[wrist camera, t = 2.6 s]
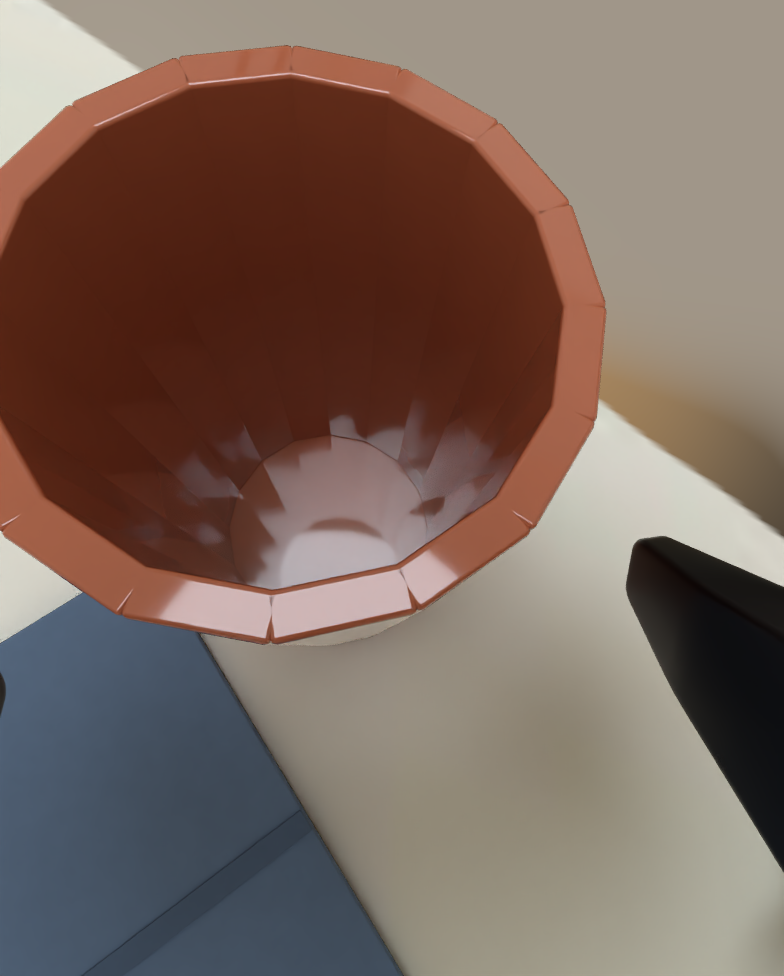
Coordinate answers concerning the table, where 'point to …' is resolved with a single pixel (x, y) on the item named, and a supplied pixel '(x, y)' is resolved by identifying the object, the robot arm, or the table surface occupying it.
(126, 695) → the napkin
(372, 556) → the pencil cup
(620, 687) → the table surface
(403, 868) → the table surface
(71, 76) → the table surface
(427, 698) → the table surface
